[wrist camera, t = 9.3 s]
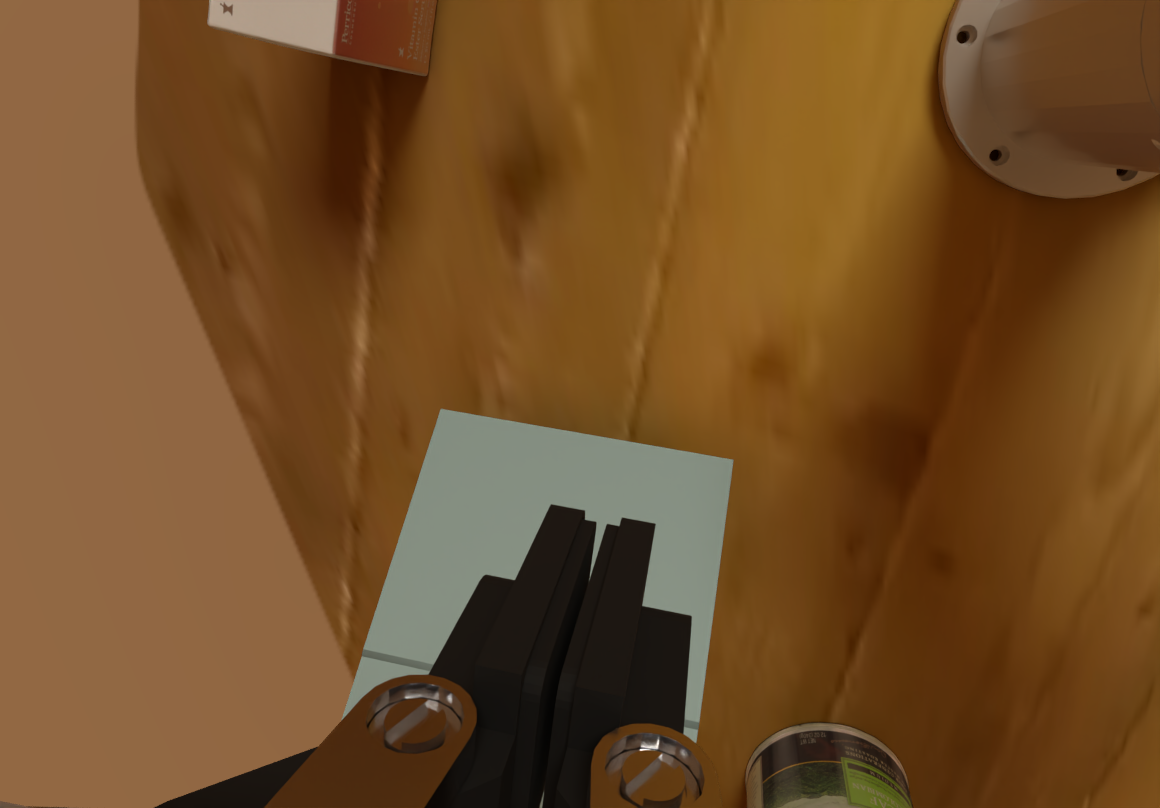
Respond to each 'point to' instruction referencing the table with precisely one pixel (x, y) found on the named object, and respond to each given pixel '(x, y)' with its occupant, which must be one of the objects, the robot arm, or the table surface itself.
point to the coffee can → (825, 770)
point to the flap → (512, 519)
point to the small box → (337, 28)
